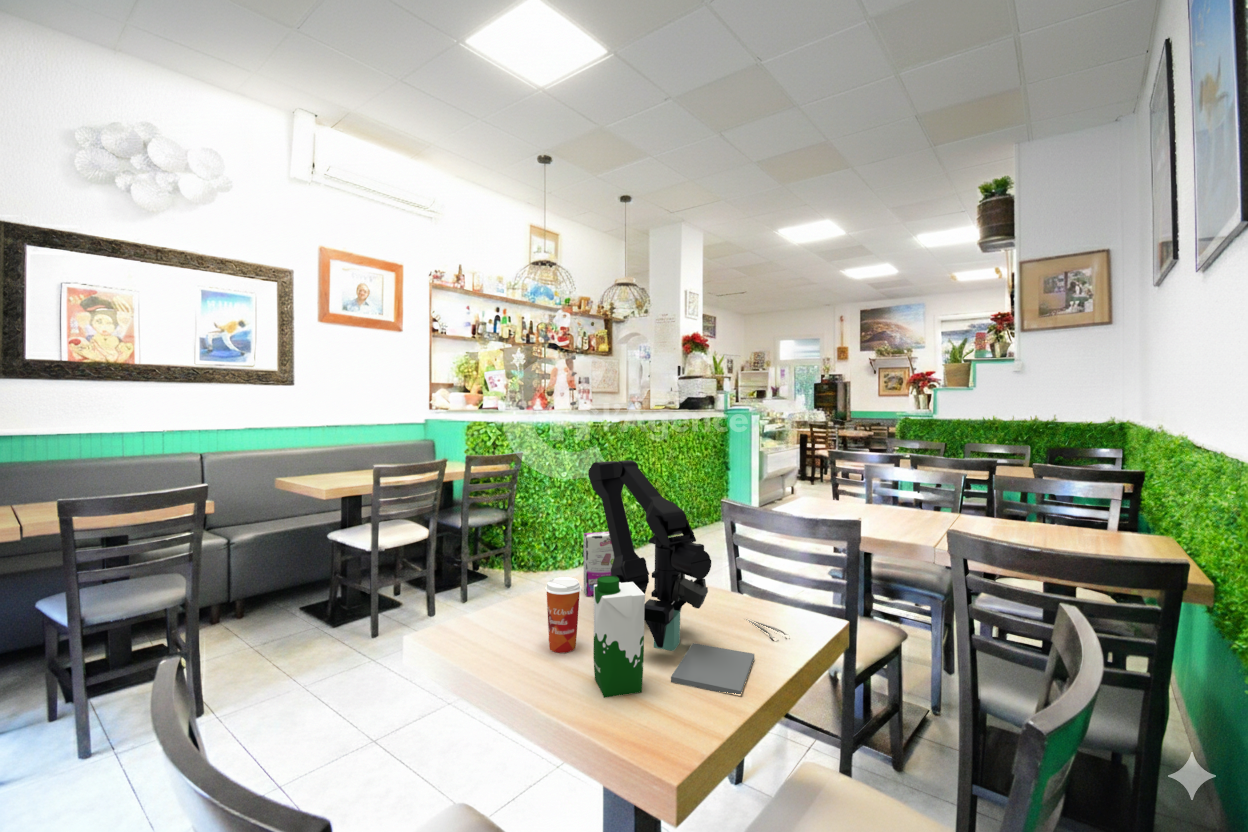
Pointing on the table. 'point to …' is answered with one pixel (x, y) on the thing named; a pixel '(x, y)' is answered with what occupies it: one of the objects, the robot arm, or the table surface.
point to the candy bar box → (596, 559)
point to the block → (672, 633)
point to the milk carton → (618, 636)
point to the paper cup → (562, 613)
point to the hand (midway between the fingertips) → (666, 638)
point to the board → (713, 668)
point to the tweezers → (768, 627)
